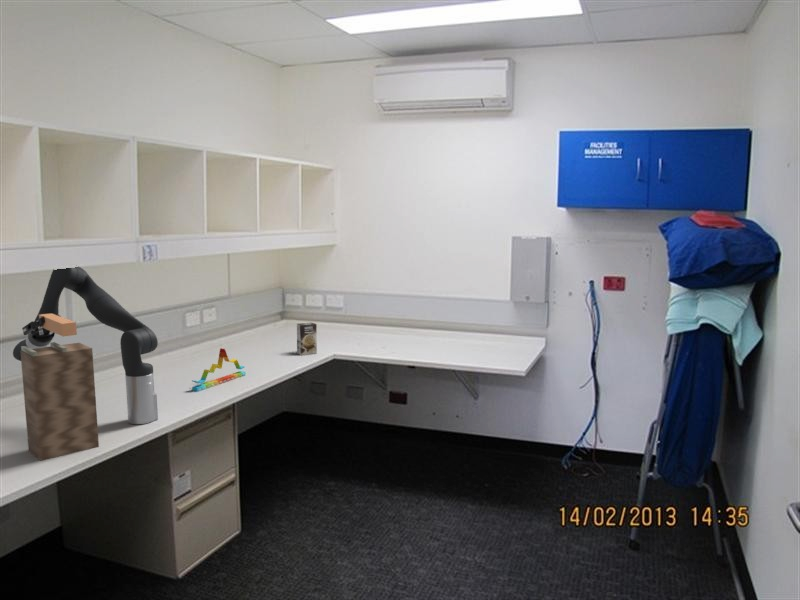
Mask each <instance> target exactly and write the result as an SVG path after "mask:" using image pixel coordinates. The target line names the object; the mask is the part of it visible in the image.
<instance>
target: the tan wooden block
mask: <svg viewBox="0 0 800 600" xmlns="http://www.w3.org/2000/svg"><path fill="white" fill-rule="evenodd" d="M42 316H44V318H45V323H44V325H43V326H42V328H44V329H47V330H49V331H51V332H54V333H55V334H56V335H59V336H61V337H71V336H76V335H77V333H78V332H77V331H78V330H77V322H76V321H74V320H71V319H68V318H65V317H63V316H61V315H60V316H61V317H60V316H57V315H55V314H52V313H51V314H41V315H39V318H41V317H42Z"/></svg>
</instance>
